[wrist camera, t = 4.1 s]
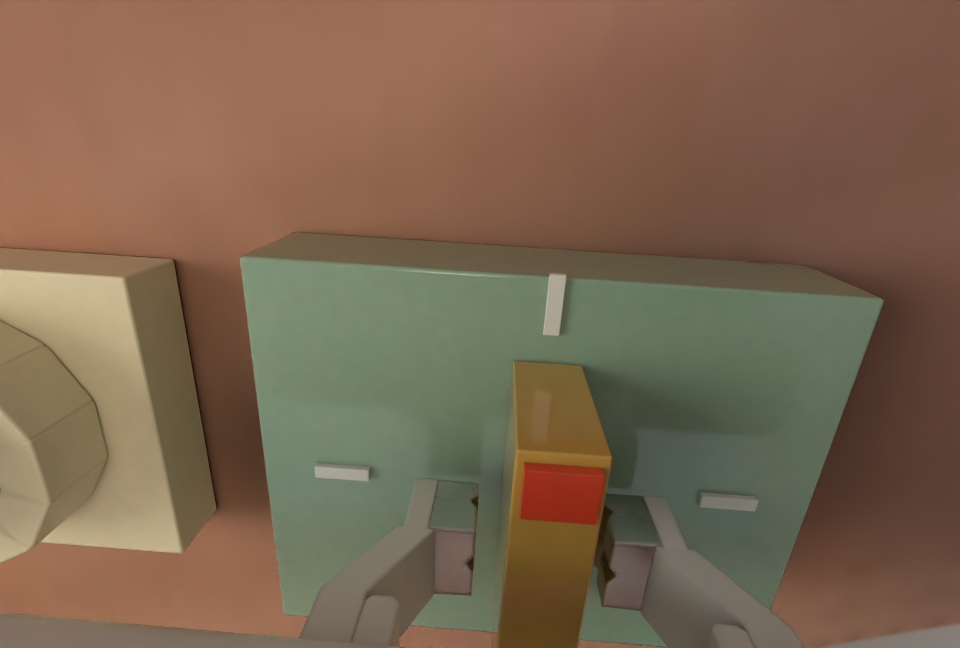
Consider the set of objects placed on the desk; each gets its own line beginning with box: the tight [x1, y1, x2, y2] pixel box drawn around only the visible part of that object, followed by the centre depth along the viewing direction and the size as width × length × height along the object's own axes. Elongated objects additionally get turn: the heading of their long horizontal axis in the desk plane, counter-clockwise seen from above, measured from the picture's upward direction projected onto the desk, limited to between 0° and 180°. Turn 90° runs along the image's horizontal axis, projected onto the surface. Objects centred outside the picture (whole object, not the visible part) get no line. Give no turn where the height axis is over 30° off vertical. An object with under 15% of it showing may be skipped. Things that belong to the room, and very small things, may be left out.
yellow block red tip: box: [491, 361, 612, 648], centre depth 11 cm, size 7×2×4 cm, turn 177°
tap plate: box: [240, 232, 884, 647], centre depth 14 cm, size 11×14×3 cm
